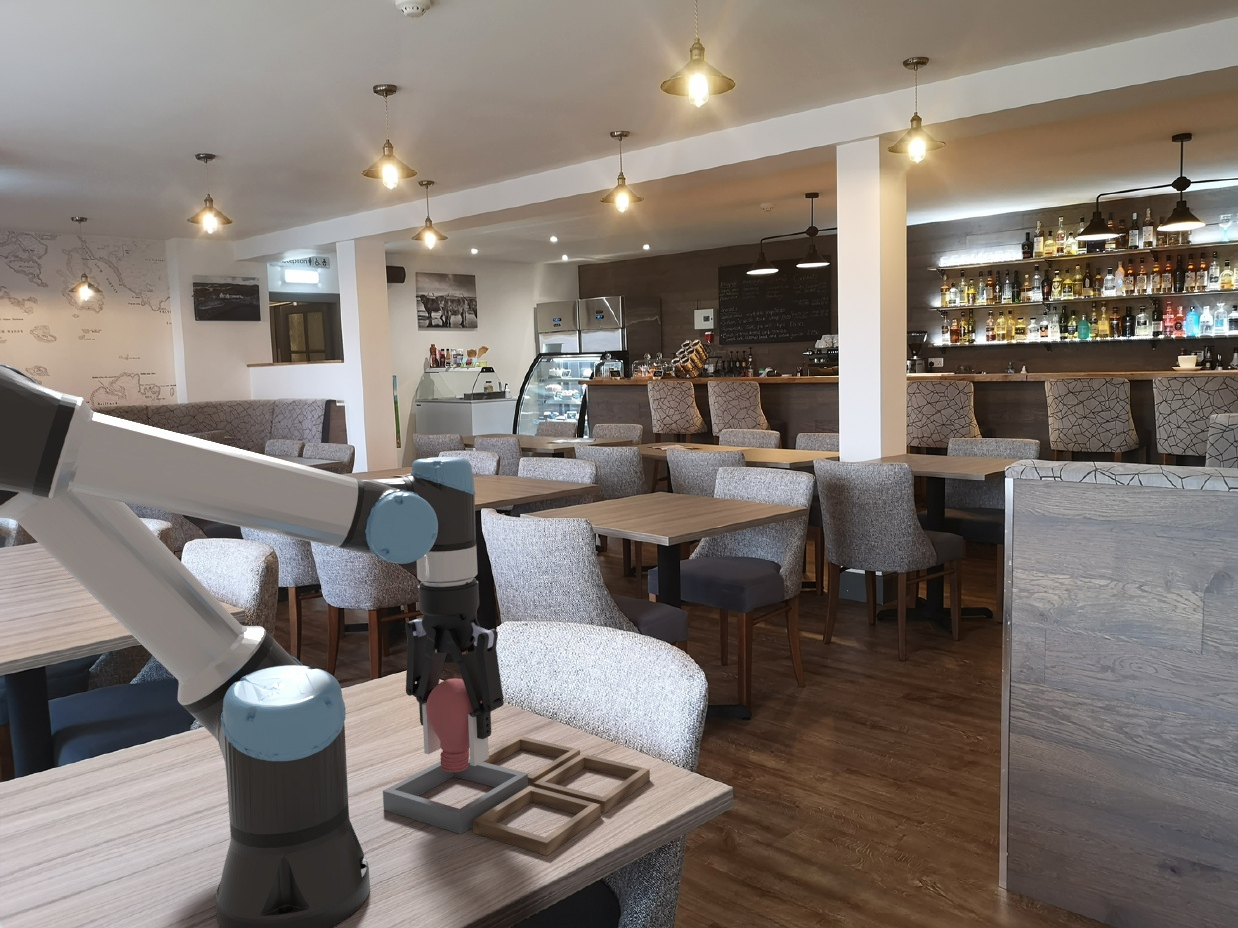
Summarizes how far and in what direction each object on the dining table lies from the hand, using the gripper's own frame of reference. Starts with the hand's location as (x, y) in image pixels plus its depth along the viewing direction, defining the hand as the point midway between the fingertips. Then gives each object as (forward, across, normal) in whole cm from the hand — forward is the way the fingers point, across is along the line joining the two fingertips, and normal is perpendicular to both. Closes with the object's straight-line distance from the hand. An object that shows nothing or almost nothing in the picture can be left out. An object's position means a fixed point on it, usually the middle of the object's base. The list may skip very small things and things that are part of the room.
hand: (456, 755), depth 119 cm
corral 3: (+6, -13, 0) cm, 14 cm away
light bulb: (+2, 0, 0) cm, 2 cm away
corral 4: (+6, -13, -12) cm, 19 cm away
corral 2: (+6, -1, -13) cm, 14 cm away
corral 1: (+6, 0, 0) cm, 6 cm away
